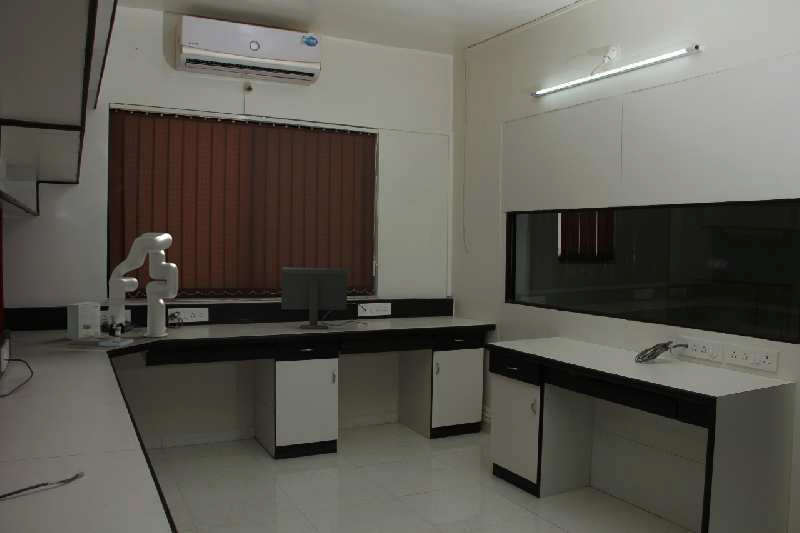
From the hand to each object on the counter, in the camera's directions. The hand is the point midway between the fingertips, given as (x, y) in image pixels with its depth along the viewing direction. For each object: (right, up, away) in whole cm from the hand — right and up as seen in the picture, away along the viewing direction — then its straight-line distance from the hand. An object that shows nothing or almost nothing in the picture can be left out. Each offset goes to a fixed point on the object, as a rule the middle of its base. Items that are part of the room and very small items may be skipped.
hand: (116, 334), depth 323 cm
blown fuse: (0, -5, 0) cm, 5 cm away
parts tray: (0, -6, 0) cm, 6 cm away
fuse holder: (-14, -5, +3) cm, 15 cm away
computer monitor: (+89, -6, +95) cm, 130 cm away
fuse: (-17, -4, +3) cm, 18 cm away
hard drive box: (-26, -5, +19) cm, 33 cm away
